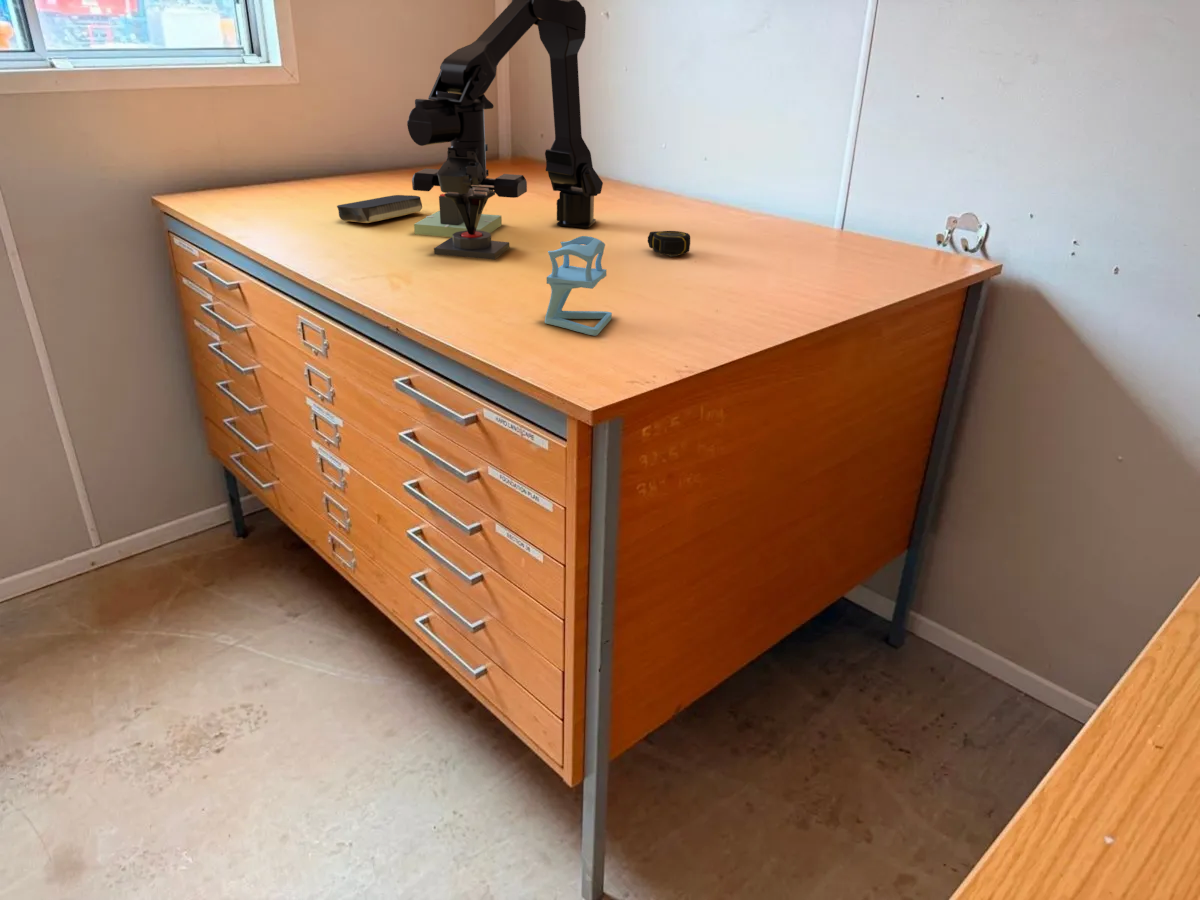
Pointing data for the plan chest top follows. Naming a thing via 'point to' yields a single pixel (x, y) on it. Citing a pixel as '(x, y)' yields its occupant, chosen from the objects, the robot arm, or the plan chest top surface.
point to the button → (471, 235)
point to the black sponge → (380, 208)
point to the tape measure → (669, 242)
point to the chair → (575, 284)
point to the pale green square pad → (435, 228)
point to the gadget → (449, 211)
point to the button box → (472, 246)
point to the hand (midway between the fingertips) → (471, 233)
